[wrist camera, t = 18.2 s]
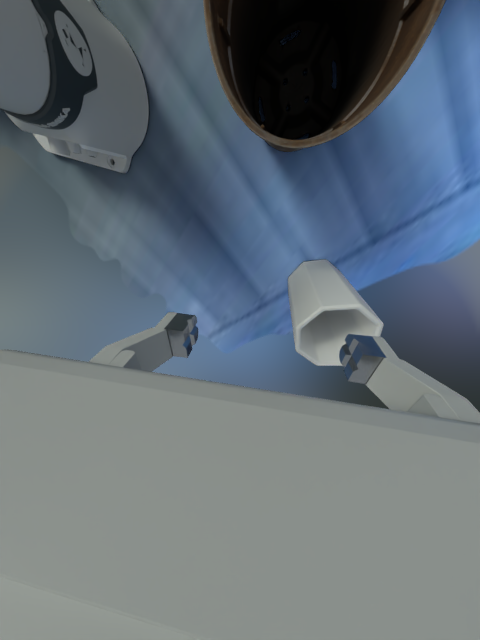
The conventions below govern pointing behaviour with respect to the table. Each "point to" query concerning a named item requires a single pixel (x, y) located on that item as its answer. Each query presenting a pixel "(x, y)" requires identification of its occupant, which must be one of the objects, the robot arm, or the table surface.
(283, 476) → the robot arm
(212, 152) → the table surface
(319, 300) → the cup
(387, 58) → the plant pot
